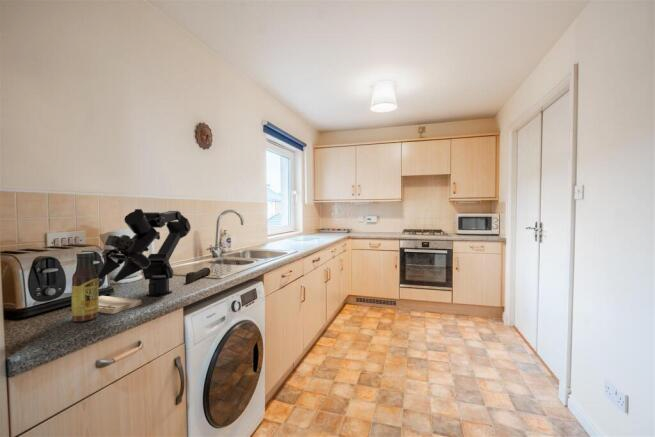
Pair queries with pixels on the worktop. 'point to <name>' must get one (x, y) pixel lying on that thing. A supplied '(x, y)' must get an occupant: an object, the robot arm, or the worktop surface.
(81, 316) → the sauce bottle
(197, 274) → the hand tool
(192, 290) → the worktop surface
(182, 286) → the worktop surface
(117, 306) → the birch board
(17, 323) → the worktop surface
